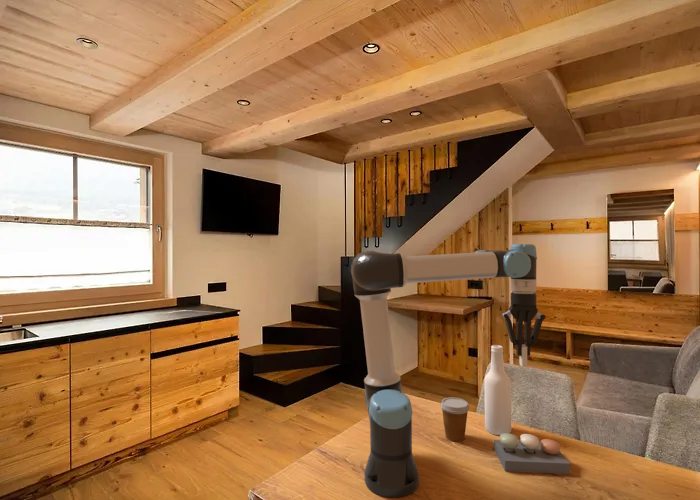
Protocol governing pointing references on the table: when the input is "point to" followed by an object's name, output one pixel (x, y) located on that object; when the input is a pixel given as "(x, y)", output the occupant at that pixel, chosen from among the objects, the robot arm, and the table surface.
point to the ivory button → (529, 442)
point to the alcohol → (497, 395)
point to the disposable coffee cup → (454, 418)
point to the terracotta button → (550, 446)
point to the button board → (531, 460)
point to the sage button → (509, 442)
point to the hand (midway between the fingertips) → (523, 365)
